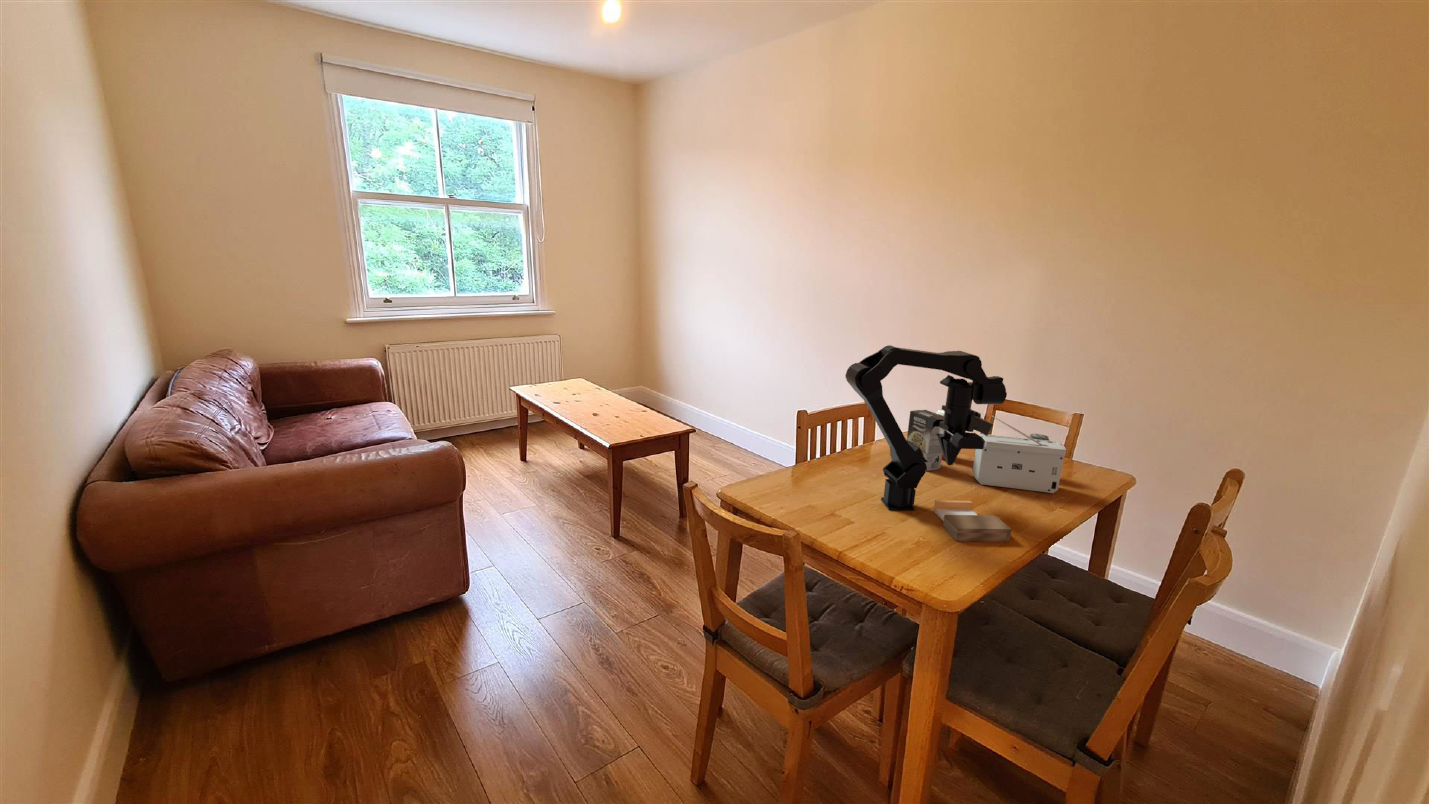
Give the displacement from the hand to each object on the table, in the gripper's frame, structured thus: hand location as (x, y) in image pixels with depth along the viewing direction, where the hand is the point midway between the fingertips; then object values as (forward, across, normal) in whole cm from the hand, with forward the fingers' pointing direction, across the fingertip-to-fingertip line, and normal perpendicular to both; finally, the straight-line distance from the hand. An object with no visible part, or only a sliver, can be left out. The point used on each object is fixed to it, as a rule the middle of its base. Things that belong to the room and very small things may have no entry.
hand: (949, 464), depth 142 cm
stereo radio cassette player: (+11, +13, -26) cm, 31 cm away
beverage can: (+11, +21, -36) cm, 43 cm away
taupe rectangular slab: (+11, -16, 0) cm, 19 cm away
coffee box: (+11, +28, -6) cm, 31 cm away
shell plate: (+11, -8, 0) cm, 13 cm away
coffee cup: (+11, +35, -16) cm, 40 cm away
